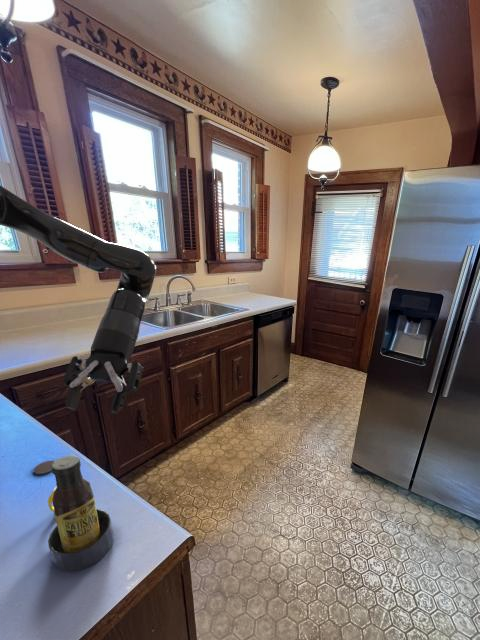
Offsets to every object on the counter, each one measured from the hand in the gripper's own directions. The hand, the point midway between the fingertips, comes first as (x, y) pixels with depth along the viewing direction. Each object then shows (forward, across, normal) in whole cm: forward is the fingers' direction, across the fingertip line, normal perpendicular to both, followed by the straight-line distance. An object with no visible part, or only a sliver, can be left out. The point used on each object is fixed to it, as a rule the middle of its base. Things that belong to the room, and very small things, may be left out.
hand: (92, 410), depth 59 cm
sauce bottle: (+24, 0, +11) cm, 27 cm away
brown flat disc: (+11, -24, +25) cm, 36 cm away
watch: (+19, -10, +17) cm, 27 cm away
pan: (+24, 0, +11) cm, 27 cm away
